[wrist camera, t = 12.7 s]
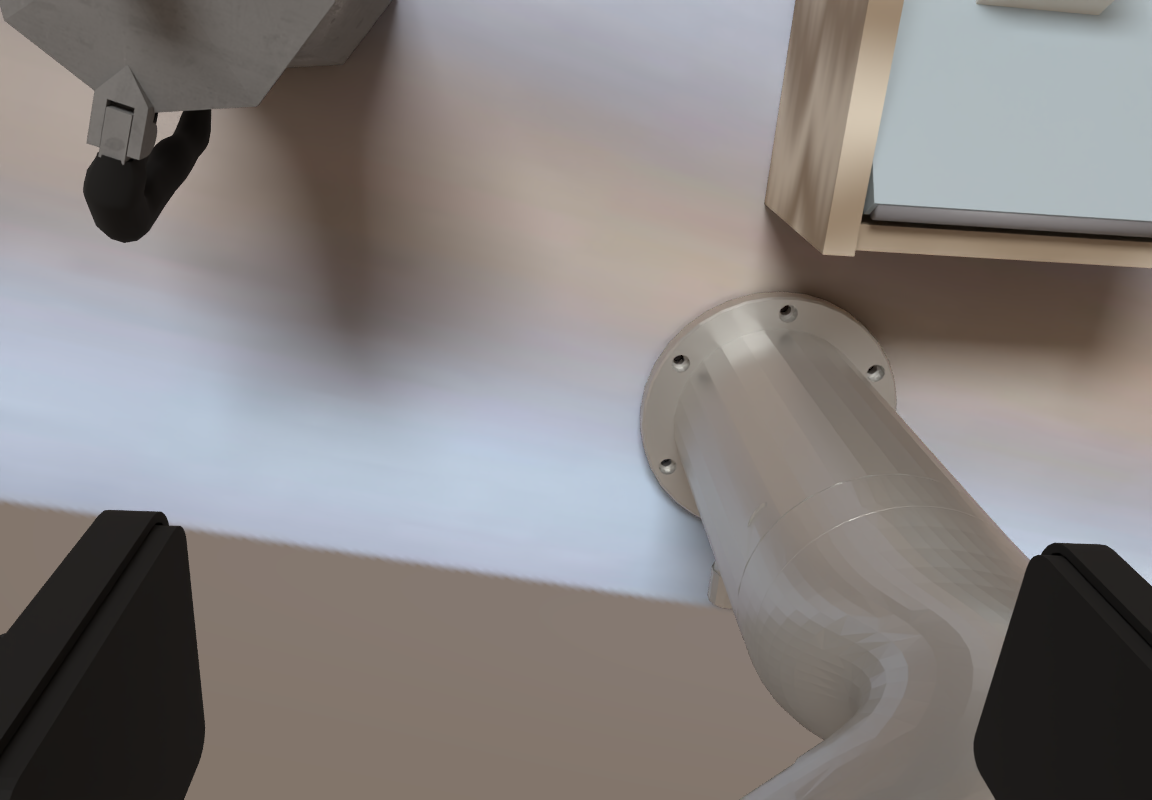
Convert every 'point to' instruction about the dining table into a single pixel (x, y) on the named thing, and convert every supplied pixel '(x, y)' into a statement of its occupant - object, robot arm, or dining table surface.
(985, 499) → the dining table surface
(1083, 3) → the limestone cube
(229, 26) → the coffeepot
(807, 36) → the stand
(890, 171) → the trapdoor
